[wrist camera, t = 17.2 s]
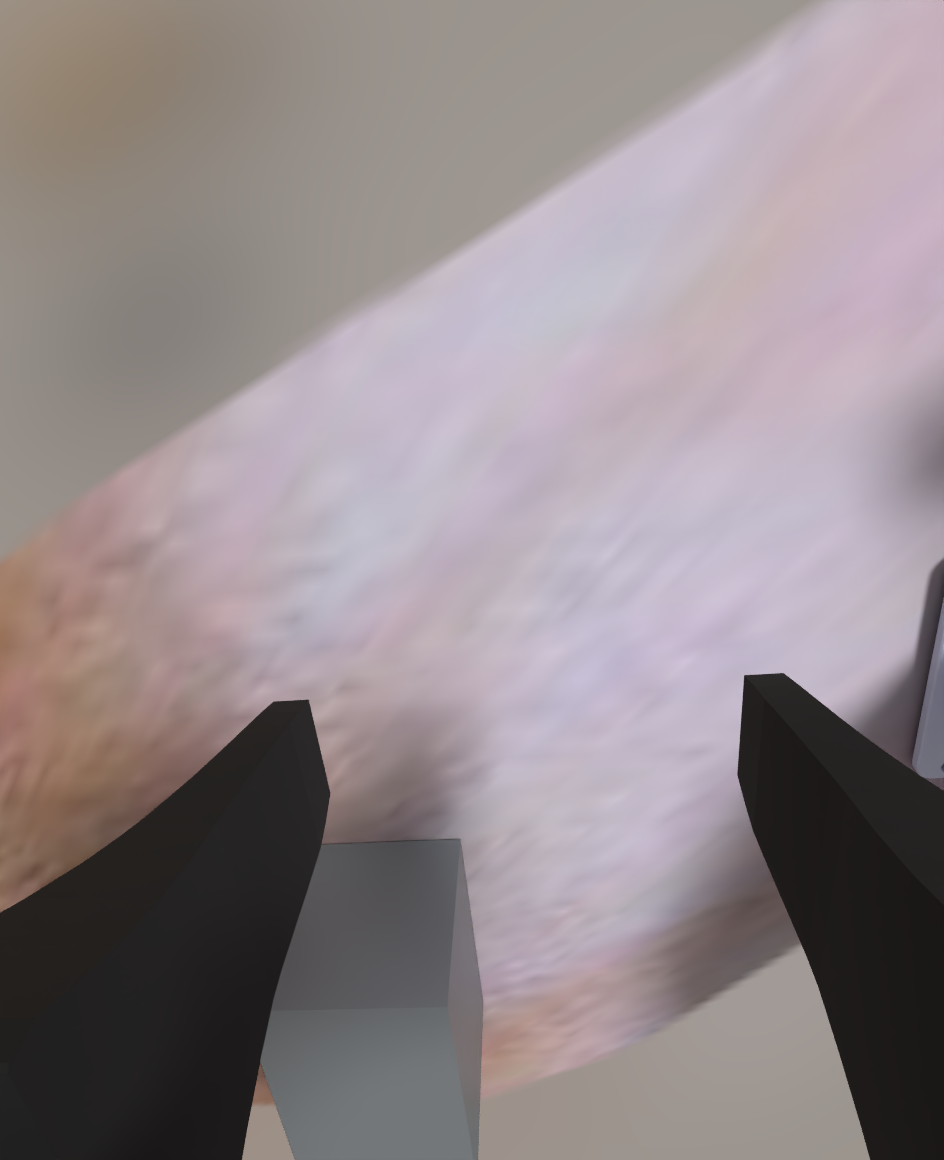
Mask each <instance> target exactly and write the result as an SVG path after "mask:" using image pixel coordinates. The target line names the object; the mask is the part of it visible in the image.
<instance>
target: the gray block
mask: <svg viewBox="0 0 944 1160" xmlns="http://www.w3.org/2000/svg"><path fill="white" fill-rule="evenodd" d="M482 1027H483V997H482V990H481V983H480V976H479V968H478V961H477V954H476V947H475V940H474V933H473V926H472V918H471V911H470V904H469V897H468V890H467V883H466V875H465V868H464V861H463V854H462V847H461V840H460V839H449V840H423V841H398V842H373V843H348V844H323V845H321V848H320V852H319V855H318V858H317V862H316V865H315V868H314V871H313V874H312V877H311V881H310V884H309V887H308V890H307V893H306V896H305V899H304V903H303V906H302V909H301V912H300V915H299V918H298V921H297V924H296V927H295V930H294V933H293V937H292V940H291V943H290V946H289V949H288V952H287V955H286V958H285V961H284V964H283V967H282V971H281V974H280V978H279V981H278V985H277V989H276V992H275V996H274V999H273V1004H272V1009H271V1013H270V1018H269V1023H268V1027H267V1032H266V1036H265V1041H264V1046H263V1050H262V1055H261V1060H260V1063H261V1065H262V1068H263V1071H264V1074H265V1077H266V1080H267V1082H268V1085H269V1088H270V1091H271V1094H272V1097H273V1099H274V1102H275V1105H276V1108H277V1111H278V1114H279V1116H280V1119H281V1122H282V1125H283V1128H284V1130H285V1133H286V1136H287V1139H288V1142H289V1145H290V1147H291V1150H292V1153H293V1156H294V1159H295V1160H478V1143H479V1114H480V1085H481V1056H482Z"/></svg>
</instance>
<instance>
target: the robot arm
mask: <svg viewBox="0 0 944 1160" xmlns="http://www.w3.org/2000/svg"><path fill="white" fill-rule="evenodd" d="M943 763H944V599H943V604H942V609H941V614H940V619H939V625H938V630H937V635H936V640H935V645H934V650H933V656H932V661H931V666H930V671H929V676H928V681H927V687H926V692H925V697H924V702H923V707H922V712H921V718H920V723H919V728H918V733H917V738H916V743H915V748H914V754H913V759H912V766H913V767H914V769H915V770H916V771H917V773H918V774H919V775H918V774H917V773H915V772H914V771H912V770H911V769H909V768H908V767H906V766H905V765H903V764H902V763H900V762H899V761H898V760H896V759H895V758H893V757H892V756H891V755H889V754H888V753H886V752H885V751H883V750H882V749H881V748H879V747H878V746H877V745H875V744H874V743H872V742H871V741H870V740H868V739H867V738H866V737H864V736H863V735H862V734H860V733H859V732H858V731H856V730H855V729H854V728H853V727H851V726H850V725H849V724H847V723H846V722H845V721H843V720H842V719H841V718H840V717H838V716H837V715H836V714H835V713H833V712H832V711H831V710H829V709H828V708H827V707H826V706H824V705H823V704H822V703H821V702H819V701H818V700H817V699H816V698H814V697H813V696H812V695H811V694H809V693H808V692H807V691H806V690H804V689H803V688H802V687H801V686H799V685H798V684H797V683H796V682H794V681H793V680H792V679H790V678H789V677H788V676H786V675H785V674H784V673H779V674H761V675H744V688H743V703H742V717H741V732H740V746H739V761H738V779H739V782H740V786H741V790H742V793H743V797H744V801H745V805H746V808H747V812H748V815H749V818H750V822H751V825H752V829H753V832H754V834H755V837H756V839H757V841H758V844H759V846H760V849H761V851H762V853H763V856H764V858H765V860H766V863H767V865H768V868H769V870H770V872H771V875H772V877H773V879H774V882H775V884H776V886H777V889H778V891H779V893H780V896H781V898H782V900H783V903H784V905H785V907H786V910H787V912H788V914H789V916H790V919H791V921H792V923H793V926H794V928H795V930H796V933H797V935H798V937H799V940H800V942H801V944H802V947H803V949H804V951H805V953H806V956H807V958H808V961H809V964H810V966H811V969H812V972H813V974H814V976H815V979H816V982H817V984H818V987H819V991H820V994H821V997H822V1000H823V1003H824V1006H825V1009H826V1012H827V1016H828V1019H829V1022H830V1025H831V1028H832V1032H833V1034H834V1038H835V1041H836V1044H837V1047H838V1051H839V1054H840V1057H841V1061H842V1064H843V1067H844V1071H845V1074H846V1077H847V1081H848V1084H849V1087H850V1091H851V1094H852V1097H853V1101H854V1104H855V1108H856V1111H857V1114H858V1118H859V1121H860V1124H861V1128H862V1132H863V1135H864V1139H865V1142H866V1146H867V1150H868V1153H869V1157H870V1160H944V791H943V790H941V789H940V788H938V787H937V786H935V785H933V784H932V783H930V782H929V781H927V780H926V779H924V778H929V779H934V778H944V765H943ZM329 798H330V790H329V786H328V781H327V777H326V773H325V768H324V764H323V760H322V755H321V751H320V747H319V742H318V738H317V734H316V730H315V725H314V721H313V717H312V712H311V708H310V704H309V700H295V701H277V702H273V703H272V704H271V705H269V706H268V707H267V708H266V709H265V710H264V711H263V712H261V713H260V714H259V715H258V716H257V717H256V718H255V719H254V720H253V721H252V722H251V723H250V724H249V725H248V726H247V727H246V728H244V729H243V730H242V731H241V732H240V733H239V734H238V735H237V736H236V737H235V738H234V739H233V740H232V741H231V742H230V743H229V744H228V745H227V746H226V747H224V748H223V749H222V750H221V751H220V752H219V753H218V754H217V755H216V756H215V757H214V758H213V759H212V760H210V761H209V762H208V763H207V764H206V765H205V766H204V767H203V768H202V769H201V770H200V771H199V772H198V773H196V774H195V775H194V776H193V777H192V778H191V779H190V780H188V781H187V782H186V783H185V784H184V785H183V786H181V787H180V788H179V789H178V790H177V791H175V792H174V793H173V794H172V795H171V796H170V797H168V798H167V799H166V800H165V801H164V802H163V803H161V804H160V805H159V806H158V807H157V808H155V809H154V810H153V811H152V812H151V813H150V814H148V815H147V816H146V817H145V818H143V819H142V820H141V821H140V822H138V823H137V824H136V825H134V826H133V827H132V828H130V829H129V830H128V831H126V832H125V833H124V834H122V835H121V836H120V837H118V838H117V839H116V840H114V841H113V842H111V843H110V844H109V845H107V846H106V847H104V848H103V849H102V850H100V851H99V852H97V853H96V854H95V855H93V856H92V857H90V858H89V859H87V860H86V861H84V862H83V863H81V864H80V865H78V866H77V867H75V868H73V869H72V870H70V871H69V872H67V873H65V874H64V875H62V876H61V877H59V878H57V879H56V880H54V881H53V882H51V883H49V884H48V885H46V886H45V887H43V888H41V889H40V890H38V891H37V892H35V893H33V894H32V895H30V896H29V897H27V898H25V899H24V900H22V901H20V902H18V903H17V904H15V905H13V906H11V907H10V908H8V909H6V910H4V911H2V912H1V913H0V1160H242V1155H243V1150H244V1144H245V1138H246V1132H247V1127H248V1121H249V1116H250V1111H251V1106H252V1101H253V1096H254V1091H255V1085H256V1080H257V1075H258V1070H259V1065H260V1060H261V1055H262V1050H263V1046H264V1041H265V1036H266V1032H267V1027H268V1023H269V1018H270V1013H271V1009H272V1004H273V999H274V996H275V992H276V989H277V985H278V981H279V978H280V974H281V971H282V967H283V964H284V961H285V958H286V955H287V952H288V949H289V946H290V943H291V940H292V937H293V933H294V930H295V927H296V924H297V921H298V918H299V915H300V912H301V909H302V906H303V903H304V899H305V896H306V893H307V890H308V887H309V884H310V881H311V877H312V874H313V871H314V868H315V865H316V862H317V858H318V855H319V852H320V848H321V843H322V838H323V833H324V828H325V823H326V816H327V810H328V804H329Z"/></svg>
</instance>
